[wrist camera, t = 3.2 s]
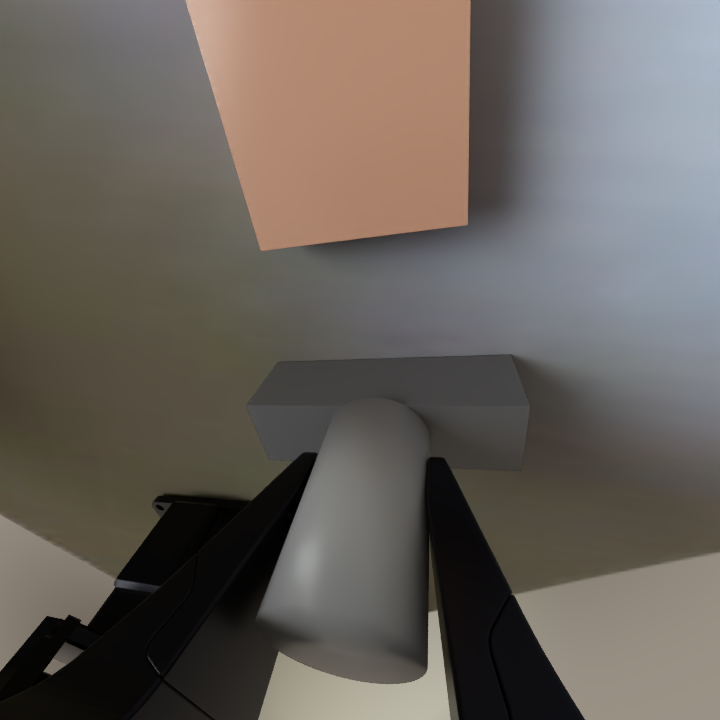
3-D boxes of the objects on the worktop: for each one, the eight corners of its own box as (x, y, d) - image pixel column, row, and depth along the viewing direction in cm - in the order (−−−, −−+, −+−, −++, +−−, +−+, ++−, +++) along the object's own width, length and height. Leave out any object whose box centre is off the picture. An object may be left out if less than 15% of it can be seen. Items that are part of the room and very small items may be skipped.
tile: (461, 211, 9) (467, 224, 7) (289, 234, 10) (261, 250, 8) (462, -72, 6) (472, -151, 5) (231, 5, 7) (174, -38, 6)
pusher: (505, 419, 12) (586, 728, 5) (296, 417, 14) (179, 643, 7) (511, 346, 10) (636, 657, 4) (275, 355, 12) (106, 573, 6)
